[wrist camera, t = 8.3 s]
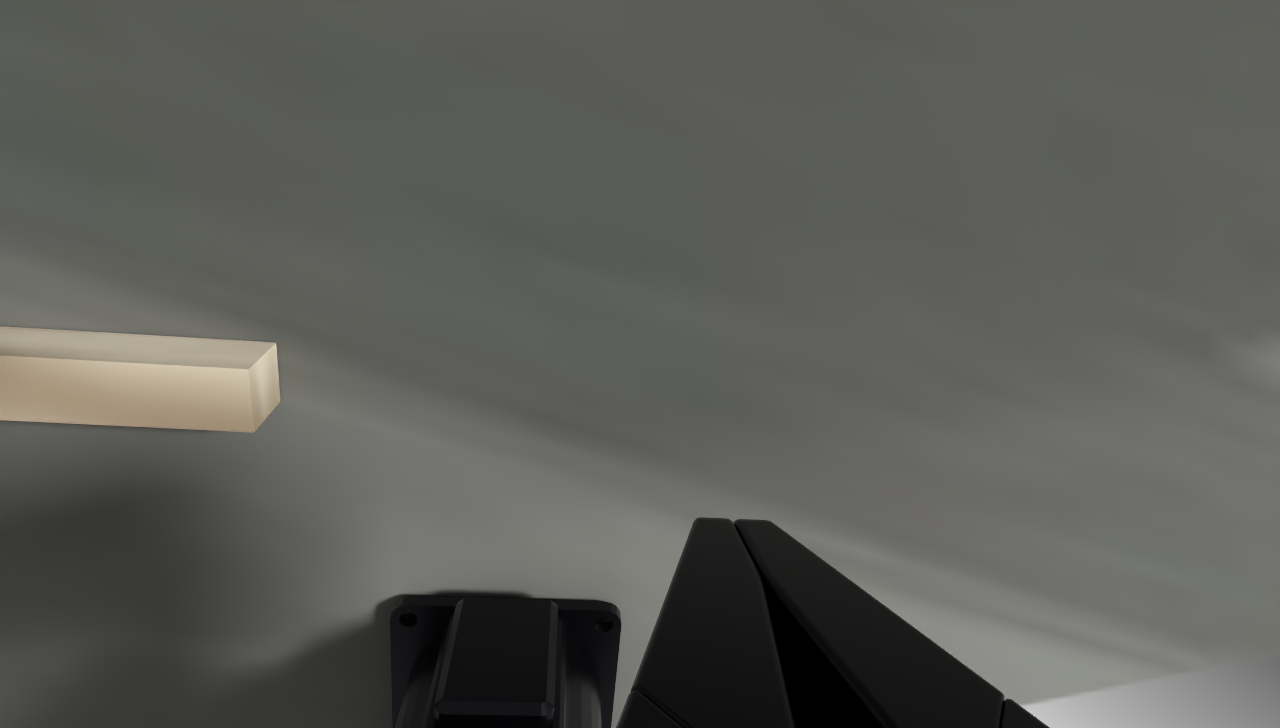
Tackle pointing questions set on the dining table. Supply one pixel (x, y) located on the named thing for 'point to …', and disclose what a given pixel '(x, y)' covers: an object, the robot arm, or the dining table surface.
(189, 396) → the beige grey patterned tray
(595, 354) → the dining table surface
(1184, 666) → the dining table surface
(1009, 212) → the dining table surface
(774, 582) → the robot arm
